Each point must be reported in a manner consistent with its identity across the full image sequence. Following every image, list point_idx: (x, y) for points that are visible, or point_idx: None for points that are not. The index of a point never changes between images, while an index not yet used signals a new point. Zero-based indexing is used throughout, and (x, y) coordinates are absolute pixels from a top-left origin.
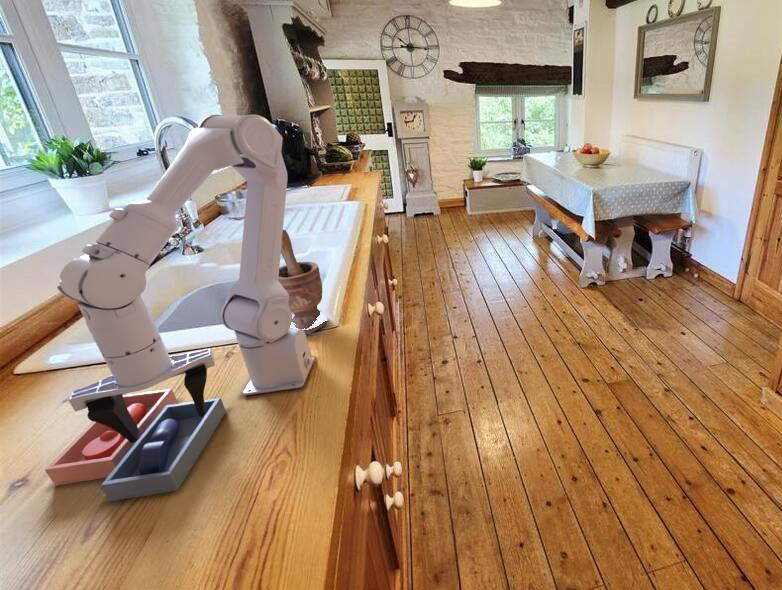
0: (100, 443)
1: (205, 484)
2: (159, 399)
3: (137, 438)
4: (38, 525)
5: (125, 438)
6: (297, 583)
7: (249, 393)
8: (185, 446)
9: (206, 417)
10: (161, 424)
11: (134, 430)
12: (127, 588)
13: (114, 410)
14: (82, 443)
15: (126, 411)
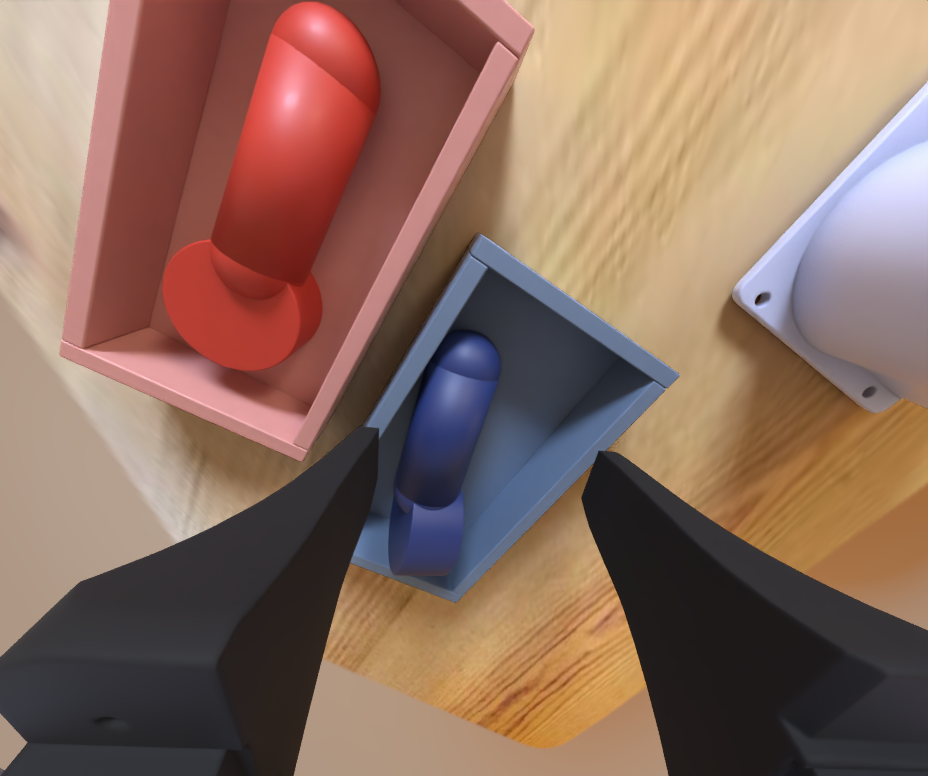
0: (226, 303)
1: (506, 566)
2: (457, 129)
3: (377, 470)
4: (172, 459)
5: None
6: (555, 731)
7: (751, 313)
8: (504, 545)
9: (592, 460)
10: (453, 395)
11: (369, 482)
12: (380, 655)
13: (290, 762)
14: (134, 212)
15: (333, 522)
